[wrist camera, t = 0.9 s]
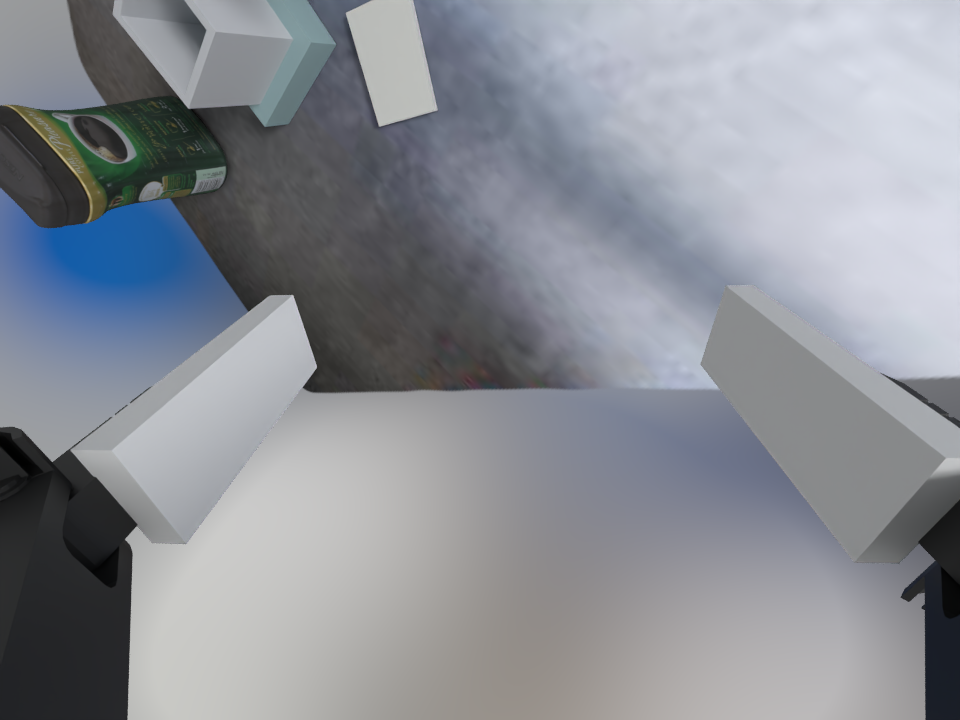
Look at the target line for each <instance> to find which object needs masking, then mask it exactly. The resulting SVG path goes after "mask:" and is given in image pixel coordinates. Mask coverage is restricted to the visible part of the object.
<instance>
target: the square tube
mask: <svg viewBox="0 0 960 720" xmlns="http://www.w3.org/2000/svg"><path fill="white" fill-rule="evenodd" d="M113 15H114V17H115V18H116V19H117V20H118V22H119V23H120V24H121V25H122V27H123V28H124V29H125V30H126V32H127V33H128V34H129V35H130V37H131V38H132V39H133V40H134V42H135V43H136V44H137V45H138V47H139V48H140V49H141V50H142V52H143V53H144V54H145V55H146V57H147V58H148V59H149V60H150V61H151V63H152V64H153V65H154V66H155V68H156V69H157V70H158V71H159V73H160V74H161V75H162V76H163V78H164V79H165V80H166V81H167V83H168V84H169V85H170V86H171V88H172V89H173V90H174V91H175V93H176V94H177V95H178V96H179V98H180V99H181V100H182V101H183V103H184V104H185V105H186V106H187V108H188V109H194V108H210V107H226V106H243V105H249V107H250V108H251V109H252V111H253V112H254V113H255V115H256V116H257V117H258V118H259V120H260V121H261V122H262V124H263V125H264V126H265V127H269V126H278V125H286V124H289V123H290V121H291V120H292V118H293V116H294V115H295V113H296V111H297V110H298V108H299V106H300V105H301V103H302V101H303V100H304V98H305V96H306V95H307V93H308V91H309V90H310V88H311V86H312V85H313V83H314V81H315V80H316V78H317V76H318V75H319V73H320V71H321V70H322V68H323V66H324V65H325V63H326V61H327V60H328V58H329V56H330V55H331V53H332V51H333V50H334V48H335V46H336V43H335V42H334V40H333V39H332V37H331V36H330V34H329V33H328V31H327V30H326V28H325V27H324V25H323V24H322V22H321V21H320V19H319V18H318V16H317V15H316V13H315V12H314V10H313V9H312V7H311V6H310V4H309V2H308V1H307V0H115V2H114V8H113Z"/></svg>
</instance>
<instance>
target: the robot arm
mask: <svg viewBox="0 0 960 720" xmlns="http://www.w3.org/2000/svg"><path fill="white" fill-rule="evenodd" d="M701 366H702V367H703V368H704V370H705V371H706V372H707V373H708V375H709V376H710V377H711V379H712V380H713V381H714V382H715V384H716V385H717V386H718V388H719V389H720V390H721V391H722V393H723V394H724V395H725V396H726V398H727V399H728V400H729V402H730V403H731V404H732V405H733V407H734V408H735V409H736V411H737V412H738V413H739V414H740V416H741V417H742V418H743V420H744V421H745V422H746V424H747V425H748V426H749V427H750V429H751V430H752V431H753V433H754V434H755V435H756V436H757V438H758V439H759V440H760V441H761V443H762V444H763V445H764V447H765V448H766V449H767V451H768V452H769V453H770V454H771V456H772V457H773V458H774V460H775V461H776V462H777V463H778V465H779V466H780V467H781V469H782V470H783V471H784V472H785V474H786V475H787V476H788V478H789V479H790V480H791V481H792V483H793V484H794V485H795V487H796V488H797V489H798V490H799V492H800V493H801V494H802V496H803V497H804V498H805V499H806V501H807V502H808V503H809V505H810V506H811V507H812V508H813V510H814V511H815V512H816V514H817V515H818V516H819V517H820V519H821V520H822V521H823V523H824V524H825V525H826V527H827V528H828V529H829V530H830V532H831V533H832V534H833V536H834V537H835V538H836V539H837V541H838V542H839V543H840V545H841V546H842V547H843V548H844V550H845V551H846V552H847V553H848V555H849V556H850V557H851V559H852V560H853V561H854V562H856V563H891V564H899V563H900V562H901V561H902V560H903V559H904V558H905V557H906V556H907V555H908V554H909V553H910V552H911V551H912V550H913V549H914V548H915V547H916V546H917V545H918V544H920V545H921V546H922V547H923V548H924V549H925V550H926V551H927V552H928V553H929V554H930V555H931V556H932V557H933V558H934V559H935V560H936V561H935V562H934V563H933V564H931V565H930V566H929V567H928V568H927V569H926V570H925V571H924V572H923V573H922V574H921V575H920V576H918V578H916V579H915V580H914V581H913V582H912V583H911V584H910V585H909V586H908V587H907V588H905V589H904V591H903V593H902V596H901V598H903V599H905V600H906V601H908V602H909V601H911V600H912V599H913V598H914V597H915V596H916V595H917V594H919V593H925V605H923V606H922V609H924V610H925V689H926V690H925V703H926V704H925V710H926V720H960V421H958V420H957V419H955V418H954V417H953V418H951V417H948V413H947V412H945V411H944V410H942V409H941V408H939V407H938V406H936V405H935V404H933V403H928V400H927V399H926V398H924V397H923V396H922V395H920V394H918V393H917V392H916V391H914V390H913V389H911V388H910V387H908V386H907V385H905V384H904V383H902V382H899V381H897V380H895V379H893V378H890V377H888V376H886V375H884V374H882V373H879V372H878V371H877V370H875V369H874V368H872V367H871V366H869V365H868V364H866V363H865V362H864V361H862V360H861V359H859V358H858V357H856V356H855V355H853V354H852V353H851V352H849V351H848V350H846V349H845V348H843V347H842V346H840V345H839V344H838V343H836V342H835V341H833V340H832V339H830V338H829V337H828V336H826V335H825V334H823V333H822V332H820V331H819V330H817V329H816V328H815V327H813V326H812V325H810V324H809V323H807V322H806V321H804V320H803V319H802V318H800V317H799V316H797V315H796V314H794V313H793V312H791V311H790V310H789V309H787V308H786V307H784V306H783V305H781V304H780V303H778V302H777V301H776V300H774V299H773V298H771V297H770V296H768V295H767V294H765V293H764V292H763V291H761V290H760V289H758V288H757V287H755V286H754V285H731V286H725V289H724V292H723V296H722V299H721V302H720V305H719V308H718V311H717V314H716V317H715V321H714V324H713V327H712V330H711V333H710V336H709V339H708V343H707V346H706V349H705V352H704V355H703V358H702V361H701ZM316 368H317V365H316V362H315V359H314V356H313V353H312V350H311V347H310V344H309V341H308V338H307V335H306V332H305V329H304V326H303V323H302V320H301V317H300V314H299V311H298V308H297V305H296V302H295V299H294V297H293V295H272V296H269V297H267V298H266V299H265V300H263V301H262V302H261V303H260V304H258V305H257V306H256V307H254V308H253V309H252V310H251V311H249V312H248V313H247V314H245V315H244V316H243V317H242V318H240V319H239V320H238V321H236V322H235V323H234V324H232V325H231V326H230V327H229V328H227V329H226V330H225V331H223V332H222V333H221V334H220V335H218V336H217V337H216V338H214V339H213V340H212V341H210V342H209V343H208V344H207V345H205V346H204V347H203V348H201V349H200V350H199V351H198V352H196V353H195V354H194V355H192V356H191V357H190V358H189V359H187V360H186V361H185V362H183V363H182V364H181V365H180V366H178V367H177V368H176V369H174V370H173V371H172V372H170V373H169V374H168V375H167V376H165V377H164V378H163V379H161V380H160V381H159V382H158V383H156V384H155V385H154V386H152V387H150V388H148V389H147V390H145V391H144V392H143V393H142V394H140V395H139V396H138V397H136V398H135V399H134V400H133V401H131V402H130V404H129V405H126V406H125V407H123V408H122V409H121V410H120V411H118V412H117V413H116V414H115V416H114V417H110V418H109V419H108V420H107V421H105V422H104V423H103V424H101V425H100V426H99V427H98V428H96V429H95V430H94V431H92V432H91V433H90V434H89V435H87V436H86V437H84V438H83V439H82V440H81V441H79V442H78V443H77V444H75V445H74V446H73V447H72V448H70V449H69V450H68V451H66V452H65V453H64V454H62V455H61V456H60V457H59V458H57V459H56V460H55V461H53V462H51V461H50V460H49V458H48V457H47V456H46V455H45V454H44V453H43V452H42V451H41V450H40V449H39V448H38V447H37V446H36V445H35V444H34V442H33V441H32V440H31V439H30V438H29V437H28V436H27V435H26V434H25V433H24V432H23V431H22V430H21V429H18V428H15V427H3V428H0V720H127V714H128V711H127V710H128V682H129V681H128V679H129V649H130V617H131V616H130V615H131V584H132V583H131V582H132V550H131V547H130V545H129V544H128V543H127V541H125V538H126V537H127V536H128V535H129V534H130V533H131V532H132V530H133V529H134V528H135V527H136V526H138V528H139V529H140V530H141V531H142V532H143V533H144V534H145V536H146V537H147V538H148V539H149V540H150V541H151V542H152V543H170V544H187V542H188V541H189V540H190V538H191V537H192V535H193V534H194V533H195V531H196V530H197V529H198V527H199V526H200V525H201V523H202V522H203V521H204V519H205V518H206V517H207V515H208V514H209V513H210V511H211V510H212V508H213V507H214V506H215V504H216V503H217V502H218V500H219V499H220V498H221V496H222V495H223V494H224V492H225V491H226V490H227V488H228V487H229V486H230V484H231V483H232V482H233V480H234V479H235V477H236V476H237V475H238V473H239V472H240V471H241V469H242V468H243V466H244V465H245V464H246V463H247V461H248V460H249V458H250V457H251V456H252V455H253V453H254V452H255V451H256V449H257V448H258V446H259V445H260V444H261V442H262V441H263V440H264V438H265V437H266V436H267V434H268V433H269V431H270V430H271V429H272V427H273V426H274V425H275V424H276V422H277V421H278V419H279V418H280V417H281V415H282V414H283V413H284V411H285V410H286V409H287V407H288V406H289V405H290V403H291V402H292V400H293V399H294V398H295V397H296V395H297V394H298V392H299V391H300V390H301V388H302V387H303V386H304V384H305V383H306V382H307V380H308V379H309V378H310V376H311V375H312V374H313V372H314V371H315V370H316Z"/></svg>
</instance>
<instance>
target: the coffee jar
mask: <svg viewBox="0 0 960 720" xmlns="http://www.w3.org/2000/svg"><path fill="white" fill-rule="evenodd" d="M226 177H227V162H226V157H225V155H224V153H223V151H222V149H221V148H220V146H219V144H218V143H217V142H216V140H215V139H214V137H213V136H212V135H211V133H210V132H209V131H208V129H207V128H206V127H205V126H204V124H203V123H202V122H201V121H200V119H199V118H198V117H197V116H196V115H195V114H194V112H193V111H192V110H191V109H188V108H187V106H186V105H185V104H184V103H183V102H182V101H181V100H179V99H177V98H175V97H172V96H163V97H154V98H147V99H141V100H135V101H130V102H125V103H119V104H113V105H107V106H100V107H93V108H85V109H76V110H54V111H53V110H40V109H34V108H28V107H23V106H18V105H3V106H2V105H1V106H0V188H2V189H3V190H4V191H5V192H6V193H7V194H8V195H9V196H10V197H11V198H12V199H13V200H14V201H15V202H16V203H17V204H18V205H19V206H20V207H21V208H22V209H23V210H24V211H25V212H26V214H27V215H28V216H29V217H30V218H31V219H32V220H33V221H34V222H35V223H36V224H37V225H38V226H40V227H44V228H57V227H63V226H67V225H76V224H83V223H89V222H92V221H94V220H96V219H98V218H99V217H101V216H102V215H103V214H104V213H105V212H107V211H108V210H111V209H114V208H117V207H121V206H124V205H129V204H134V203H140V202H146V201H152V200H159V199H166V198H175V197H183V196H191V195H198V194H204V193H209V192H213V191H216V190H217V189H219V188H220V187H221V186H222V184H223V183H224V181H225V179H226Z"/></svg>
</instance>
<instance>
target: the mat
mask: <svg viewBox="0 0 960 720" xmlns="http://www.w3.org/2000/svg"><path fill="white" fill-rule="evenodd" d="M346 16H347V19H348V23H349V26H350V29H351V33H352V36H353V40H354V43H355V46H356V50H357V53H358V57H359V60H360V63H361V67H362V70H363V74H364V77H365V80H366V84H367V87H368V90H369V94H370V97H371V101H372V104H373V107H374V111H375V114H376V118H377V121H378V124H379V127H380V126H385V125H388V124H392V123H396V122H399V121H403V120H406V119H410V118H413V117H417V116H420V115H424V114H427V113H431V112H434V111H438V110H437V105H436V101H435V96H434V92H433V87H432V83H431V78H430V74H429V69H428V65H427V60H426V56H425V51H424V47H423V42H422V38H421V33H420V29H419V24H418V20H417V15H416V11H415V6H414V2H413V0H372V1H370V2H368V3H366V4H364V5H361V6H359V7H357V8H355V9H353V10H351V11H349V12H347V13H346Z"/></svg>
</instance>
